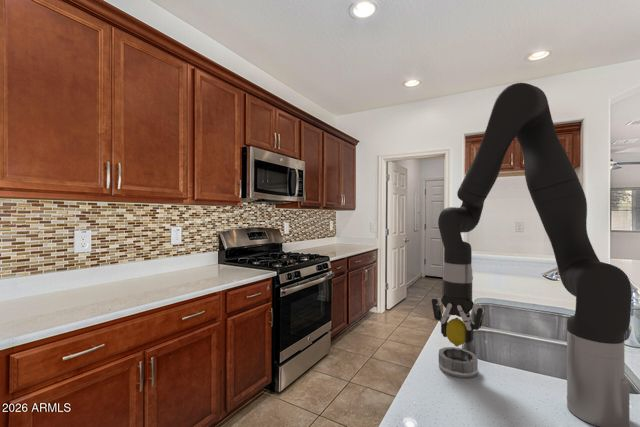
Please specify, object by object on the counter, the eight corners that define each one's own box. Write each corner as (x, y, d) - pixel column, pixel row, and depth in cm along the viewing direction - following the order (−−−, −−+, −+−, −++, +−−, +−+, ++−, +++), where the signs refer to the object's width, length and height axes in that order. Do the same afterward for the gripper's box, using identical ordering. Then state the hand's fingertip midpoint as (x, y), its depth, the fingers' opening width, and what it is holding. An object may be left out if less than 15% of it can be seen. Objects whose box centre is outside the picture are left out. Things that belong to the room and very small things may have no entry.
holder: (476, 364, 88) (476, 350, 88) (478, 381, 79) (478, 366, 79) (439, 358, 92) (439, 344, 92) (437, 373, 83) (437, 358, 83)
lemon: (464, 352, 81) (464, 322, 81) (442, 346, 85) (443, 317, 85) (470, 346, 85) (470, 317, 85) (449, 340, 89) (450, 313, 89)
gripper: (426, 277, 87) (426, 336, 87) (481, 285, 77) (480, 352, 77) (437, 273, 93) (437, 329, 93) (489, 280, 83) (489, 343, 83)
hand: (456, 339), depth 85 cm, fingers closed on lemon, 5 cm apart
